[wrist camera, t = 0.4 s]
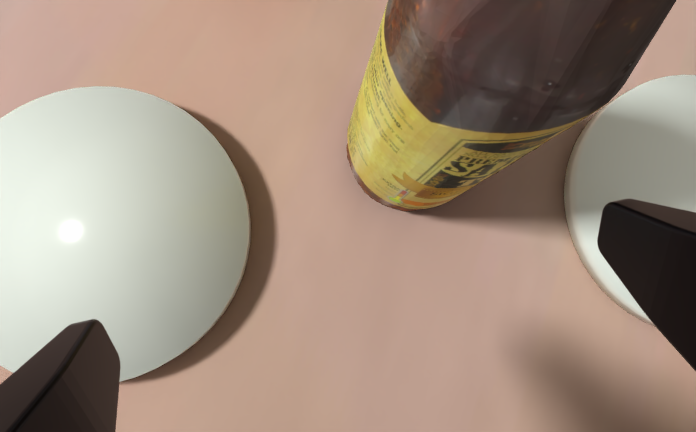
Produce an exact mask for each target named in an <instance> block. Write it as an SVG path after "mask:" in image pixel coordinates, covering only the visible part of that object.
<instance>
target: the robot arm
mask: <svg viewBox="0 0 696 432" xmlns="http://www.w3.org/2000/svg"><path fill="white" fill-rule="evenodd" d="M597 244H598V248H599V251H600V253H601V254H602V256H603V257H604V258H605V260H606V261H607V263H608V264H609V265H610V267H611V268H612V269H613V271H614V272H615V274H616V275H617V276H618V278H619V279H620V280H621V282H622V283H623V284H624V286H625V287H626V289H627V290H628V291H629V293H630V294H631V295H632V297H633V298H634V299H635V301H636V302H637V304H638V305H639V306H640V308H641V309H642V310H643V312H644V313H645V314H646V315H647V317H648V318H649V319H650V320H651V321H652V323H653V324H654V325H655V326H656V327H657V329H658V330H659V331H660V332H661V333H662V334H663V335H664V336H665V337H666V339H667V340H668V341H669V342H670V343H671V344H672V345H673V346H674V348H675V349H676V350H677V351H678V352H679V353H680V354H681V355H682V357H683V358H684V359H685V360H686V361H687V362H688V363H689V364H690V365H691V367H692V368H693V369H694V370H695V371H696V212H691V211H687V210H682V209H677V208H673V207H668V206H663V205H659V204H654V203H649V202H645V201H640V200H636V199H630V198H629V199H622V200H617V201H613V202H609V203H608V204H606V205H605V206H604V208H603V211H602V216H601V221H600V227H599V233H598V238H597ZM120 367H121V366H120V358H119V355H118V353H117V351H116V349H115V347H114V345H113V343H112V341H111V339H110V337H109V335H108V334H107V332H106V330H105V328H104V326H103V325H102V323H101V322H100V321H99V320H96V319H90V320H86V321H81V322H77V323H73V324H70V325H68V326H67V327H66V328H65V329H63V330H62V331H61V332H60V333H59V334H58V335H57V336H55V337H54V338H53V339H52V340H51V341H50V342H49V343H47V344H46V345H45V346H44V347H43V348H42V349H40V350H39V351H38V352H37V353H36V354H35V355H34V356H32V357H31V358H30V359H29V360H28V361H27V362H26V363H24V364H23V365H22V366H21V367H20V368H19V369H18V370H16V371H15V372H14V373H13V374H12V375H11V376H9V377H8V378H7V379H6V380H5V381H4V382H3V383H1V384H0V432H115V429H116V417H117V405H118V393H119V380H120Z"/></svg>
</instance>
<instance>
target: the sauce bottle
mask: <svg viewBox="0 0 696 432" xmlns="http://www.w3.org/2000/svg"><path fill="white" fill-rule="evenodd" d="M675 2H676V0H388V3H387V6H386V9H385V12H384V15H383V18H382V21H381V24H380V28H379V31H378V34H377V37H376V40H375V43H374V47H373V50H372V53H371V56H370V59H369V62H368V65H367V69H366V72H365V75H364V78H363V81H362V84H361V87H360V91H359V94H358V97H357V100H356V103H355V106H354V110H353V113H352V116H351V119H350V123H349V126H348V134H347V138H348V144H347V158H348V160H349V163H350V167H351V169H352V171H353V174H354V176H355V179H356V180H357V182H358V184H359V185H360V186H361V187H362V189H363V190H364V192H365V193H366V194H368V195H369V196H370V197H371V198H372V199H374V200H375V201H377V202H379V203H381V204H383V205H385V206H387V207H392V208H396V209H399V210H402V211H413V210H419V209H426V208H432V207H436V206H439V205H442V204H444V203H446V202H448V201H450V200H452V199H454V198H455V197H457V196H459V195H460V194H462V193H464V192H465V191H467V190H469V189H470V188H472V187H473V186H475V185H477V184H478V183H480V182H482V181H483V180H485V179H486V178H488V177H490V176H492V175H493V174H495V173H498V172H499V171H500V170H502V169H503V168H505V167H507V166H509V165H510V164H512V163H514V162H515V161H517V160H518V159H520V158H521V157H523V156H524V155H526V154H528V153H529V152H531V151H533V150H535V149H537V148H538V147H539V146H540V145H542V144H543V143H545V142H546V141H548V140H550V139H551V138H553V137H555V136H557V135H558V134H560V133H562V132H564V131H565V130H567V129H569V128H571V127H572V126H573V125H575V124H576V123H578V122H579V121H581V120H582V119H584V118H586V117H587V116H589V115H590V114H592V113H593V112H595V111H597V110H598V109H600V108H601V107H602V106H604V105H605V104H607V103H608V102H609V101H610V100H611V99H612V98H613V97H614V96H615V95H616V94H617V93H618V91H619V90H620V89H621V88H622V86H623V85H624V84H625V82H626V81H627V79H628V78H629V76H630V74H631V73H632V71H633V69H634V68H635V66H636V65H637V63H638V61H639V60H640V58H641V57H642V55H643V53H644V52H645V50H646V48H647V47H648V45H649V44H650V42H651V40H652V39H653V37H654V36H655V34H656V32H657V31H658V29H659V27H660V26H661V24H662V23H663V21H664V19H665V18H666V16H667V15H668V13H669V11H670V10H671V8H672V6H673V5H674V3H675Z"/></svg>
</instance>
